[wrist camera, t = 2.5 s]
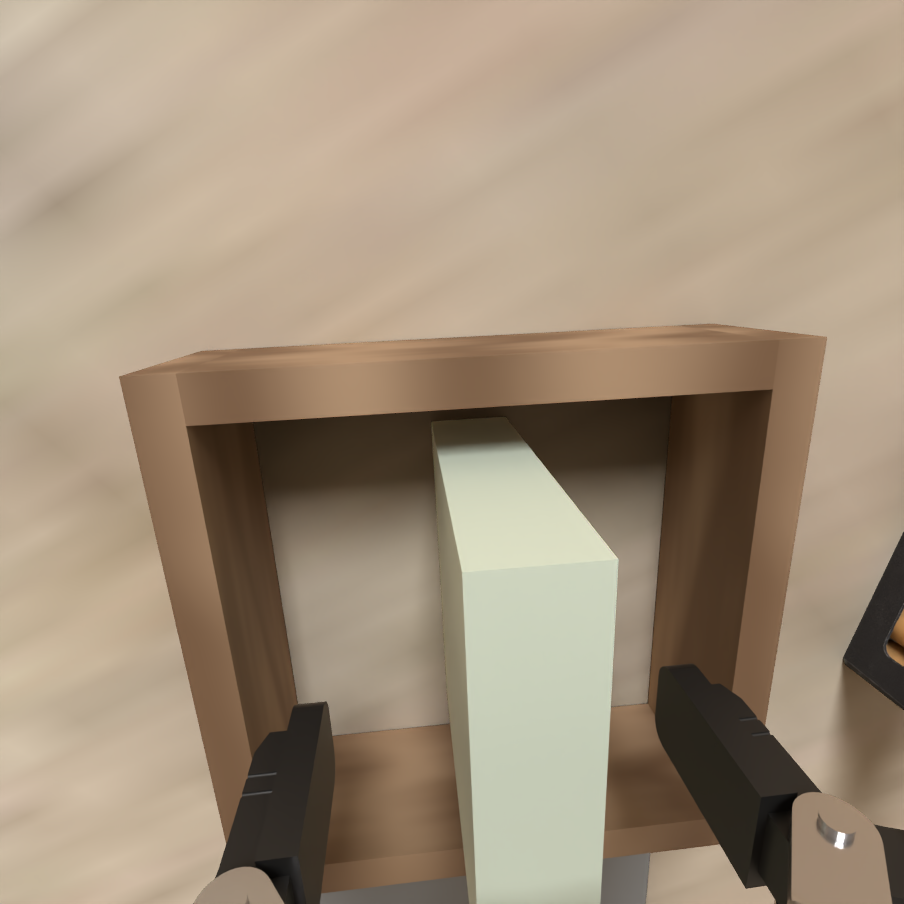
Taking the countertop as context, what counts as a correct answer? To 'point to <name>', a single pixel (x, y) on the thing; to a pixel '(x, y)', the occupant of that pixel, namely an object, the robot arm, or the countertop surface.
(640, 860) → the rubber mat
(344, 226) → the countertop surface
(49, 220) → the countertop surface
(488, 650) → the pale green rectangular block
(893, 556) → the ammunition clip
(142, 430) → the walnut box
